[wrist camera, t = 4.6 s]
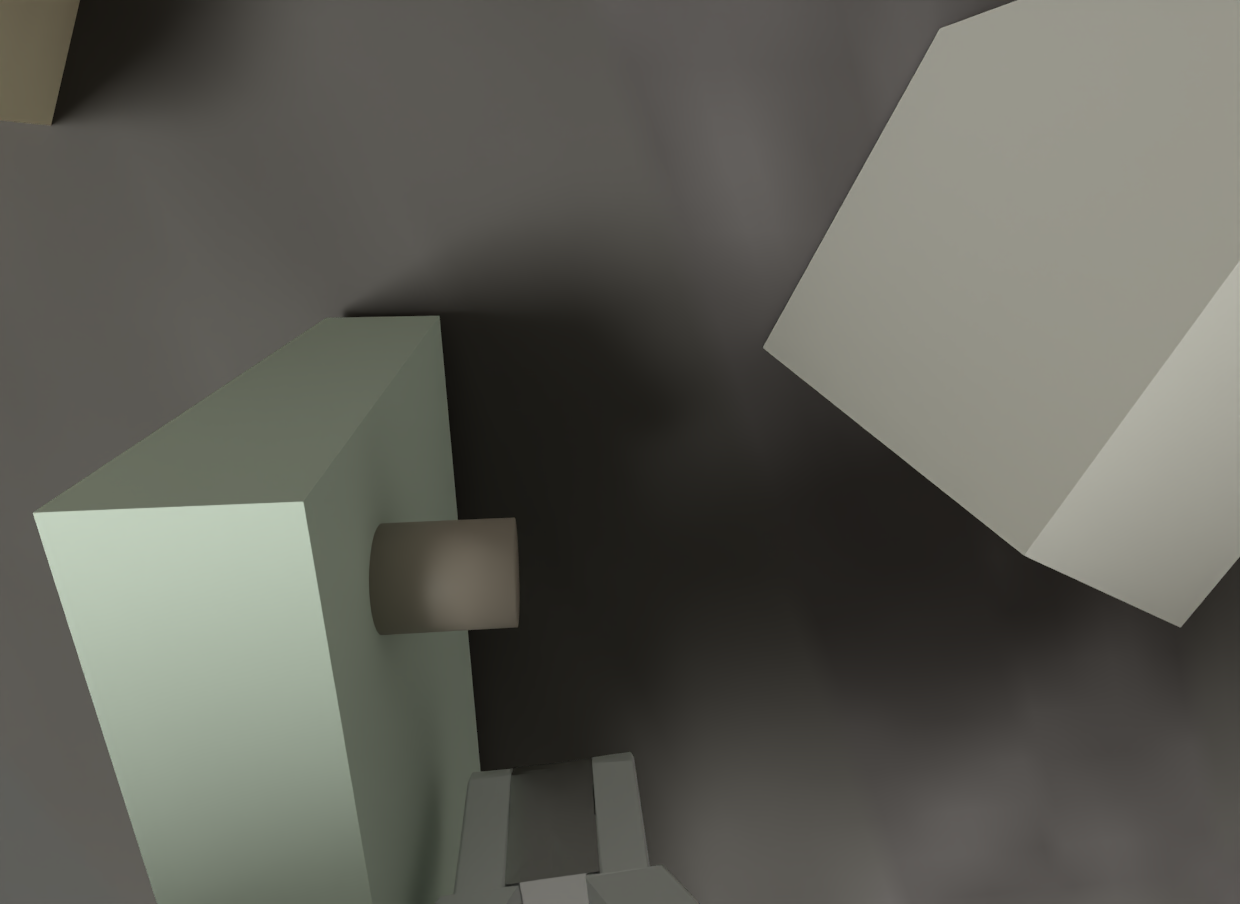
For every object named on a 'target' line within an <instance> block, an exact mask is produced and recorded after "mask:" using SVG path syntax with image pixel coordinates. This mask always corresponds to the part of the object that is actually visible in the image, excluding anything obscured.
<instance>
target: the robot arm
mask: <svg viewBox="0 0 1240 904" xmlns="http://www.w3.org/2000/svg"><path fill="white" fill-rule="evenodd" d="M435 904H700V903H699V902H698V901H697V900H696V899H695V898H694V897H693V896H692V895H691V894H690V893H689V892H688V891H687V890H686V889H685V888H684V887H683V886H682V885H681V884H680V882H679V881H678V880H677V879H676V878H675V877H674V876H673V875H672V874H671V873H670V872H669V871H668V870H667V869H666V868H665V867H664V866H663V865H658V866H650V862H649V855H648V849H647V842H646V835H645V828H644V822H643V815H642V808H641V802H640V795H639V788H638V781H637V775H636V768H635V761H634V757H633V755H632V753H631V752H625V753H618V754H611V755H604V756H598V757H592V759H591V758H585V759H578V760H571V761H564V762H557V763H549V764H539V765H530V766H520V767H514V768H512V769H502V770H492V771H482V772H472V774H471V777H470V779H469V781H468V784H467V792H466V800H465V808H464V815H463V823H462V831H461V839H460V846H459V854H458V862H457V870H456V877H455V885H454V893H453V894H452V895H446V896H440V897H439V899H438V900H437V901H436V903H435Z"/></svg>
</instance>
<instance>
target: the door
mask: <svg viewBox="0 0 1240 904" xmlns="http://www.w3.org/2000/svg"><path fill="white" fill-rule="evenodd" d="M33 515H34V518H35V521H36V524H37V528H38V531H39V534H40V537H41V540H42V543H43V546H44V550H45V553H46V556H47V559H48V562H49V565H50V568H51V572H52V575H53V578H54V581H55V584H56V587H57V591H58V594H59V597H60V600H61V603H62V606H63V609H64V613H65V616H66V619H67V622H68V625H69V628H70V631H71V635H72V638H73V641H74V644H75V647H76V650H77V653H78V657H79V660H80V663H81V666H82V669H83V672H84V675H85V679H86V682H87V685H88V688H89V691H90V694H91V697H92V701H93V704H94V707H95V710H96V713H97V716H98V719H99V723H100V726H101V729H102V732H103V735H104V738H105V741H106V745H107V748H108V751H109V754H110V757H111V760H112V763H113V767H114V770H115V773H116V776H117V779H118V782H119V785H120V789H121V792H122V795H123V798H124V801H125V804H126V807H127V811H128V814H129V817H130V820H131V823H132V826H133V829H134V833H135V836H136V839H137V842H138V845H139V848H140V852H141V855H142V858H143V861H144V864H145V867H146V870H147V874H148V877H149V880H150V883H151V886H152V889H153V892H154V896H155V899H156V902H157V904H435V903H436V901H437V900H438V899H439V897H440V896H446V895H452V894H453V893H454V885H455V877H456V870H457V862H458V854H459V846H460V839H461V831H462V823H463V815H464V808H465V800H466V792H467V784H468V781H469V779H470V777H471V774H472V772H481V771H480V760H479V749H478V737H477V726H476V715H475V704H474V693H473V682H472V671H471V660H470V649H469V638H468V630H480V629H497V628H514V627H518V625H519V604H520V590H519V555H518V538H517V526H516V520H515V517H513V518H491V519H468V520H458V515H457V504H456V493H455V482H454V471H453V460H452V449H451V438H450V427H449V416H448V404H447V393H446V382H445V371H444V360H443V349H442V338H441V327H440V316H395V317H344V318H325V319H324V320H322V321H321V322H319V323H318V324H316V325H315V326H313V327H312V328H310V329H309V330H307V331H306V332H304V333H303V334H301V335H300V336H298V337H297V338H295V339H294V340H292V341H291V342H289V343H288V344H286V345H285V346H283V347H282V348H280V349H279V350H277V351H276V352H274V353H273V354H271V355H270V356H268V357H267V358H265V359H264V360H262V361H261V362H259V363H258V364H256V365H255V366H253V367H252V368H250V369H248V370H247V371H245V372H244V373H242V374H241V375H239V376H238V377H236V378H235V379H233V380H232V381H230V382H229V383H227V384H226V385H224V386H223V387H221V388H220V389H218V390H217V391H215V392H214V393H212V394H211V395H209V396H208V397H206V398H205V399H203V400H202V401H200V402H199V403H197V404H196V405H194V406H193V407H191V408H190V409H188V410H187V411H185V412H184V413H182V414H181V415H179V416H178V417H176V418H175V419H173V420H172V421H170V422H169V423H167V424H166V425H164V426H163V427H161V428H160V429H158V430H157V431H155V432H154V433H152V434H151V435H149V436H148V437H146V438H145V439H143V440H142V441H140V442H139V443H137V444H136V445H134V446H133V447H131V448H130V449H128V450H127V451H125V452H124V453H122V454H121V455H119V456H117V457H116V458H114V459H113V460H111V461H110V462H108V463H107V464H105V465H104V466H102V467H101V468H99V469H98V470H96V471H95V472H93V473H92V474H90V475H89V476H87V477H86V478H84V479H83V480H81V481H80V482H78V483H77V484H75V485H74V486H72V487H71V488H69V489H68V490H66V491H65V492H63V493H62V494H60V495H59V496H57V497H56V498H54V499H53V500H51V501H50V502H48V503H47V504H45V505H44V506H42V507H41V508H39V509H38V510H36V511H35V512H33Z"/></svg>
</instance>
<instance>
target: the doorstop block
mask: <svg viewBox="0 0 1240 904" xmlns="http://www.w3.org/2000/svg"><path fill="white" fill-rule="evenodd" d="M79 2H80V0H0V120H1V121H11V122H21V123H31V124H41V125H51V124H52V119H53V115H54V111H55V106H56V102H57V98H58V93H59V89H60V85H61V80H62V76H63V72H64V67H65V63H66V59H67V54H68V50H69V46H70V41H71V37H72V33H73V28H74V24H75V20H76V15H77V11H78V7H79Z"/></svg>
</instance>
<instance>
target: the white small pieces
mask: <svg viewBox="0 0 1240 904" xmlns="http://www.w3.org/2000/svg"><path fill="white" fill-rule="evenodd" d="M763 348H764V349H765V350H766V351H767V352H769V353H770V354H771V355H772V356H774V357H775V358H776V359H777V360H779V361H780V362H781V363H782V364H784V365H785V366H786V367H787V368H789V369H790V370H791V371H792V372H794V373H795V374H796V375H797V376H799V377H800V378H801V379H803V380H804V381H805V382H806V383H808V384H809V385H810V386H811V387H813V388H814V389H815V390H816V391H818V392H819V393H820V394H821V395H823V396H824V397H825V398H826V399H828V400H829V401H830V402H831V403H833V404H834V405H835V406H836V407H838V408H839V409H840V410H842V411H843V412H844V413H845V414H847V415H848V416H849V417H850V418H852V419H853V420H854V421H855V422H857V423H858V424H859V425H860V426H862V427H863V428H864V429H865V430H867V431H868V432H869V433H870V434H872V435H873V436H874V437H875V438H877V439H878V440H879V441H880V442H882V443H883V444H884V445H886V446H887V447H888V448H889V449H891V450H892V451H893V452H894V453H896V454H897V455H898V456H899V457H901V458H902V459H903V460H904V461H906V462H907V463H908V464H909V465H911V466H912V467H913V468H914V469H916V470H917V471H918V472H919V473H921V474H922V475H923V476H925V477H926V478H927V479H928V480H930V481H931V482H932V483H933V484H935V485H936V486H937V487H938V488H940V489H941V490H942V491H943V492H945V493H946V494H947V495H948V496H950V497H951V498H952V499H953V500H955V501H956V502H957V503H958V504H960V505H961V506H962V507H963V508H965V509H966V510H967V511H969V512H970V513H971V514H972V515H974V516H975V517H976V518H977V519H979V520H980V521H981V522H982V523H984V524H985V525H986V526H987V527H989V528H990V529H991V530H992V531H994V532H995V533H996V534H997V535H999V536H1000V537H1001V538H1002V539H1004V540H1005V541H1006V542H1008V543H1009V544H1010V545H1011V546H1013V547H1014V548H1015V549H1016V550H1018V551H1019V552H1020V553H1021V554H1023V555H1024V556H1026V557H1028V558H1030V559H1032V560H1035V561H1037V562H1039V563H1041V564H1043V565H1045V566H1048V567H1050V568H1052V569H1054V570H1056V571H1059V572H1061V573H1063V574H1065V575H1067V576H1069V577H1072V578H1074V579H1076V580H1078V581H1080V582H1082V583H1085V584H1087V585H1089V586H1091V587H1093V588H1095V589H1098V590H1100V591H1102V592H1104V593H1106V594H1108V595H1111V596H1113V597H1115V598H1117V599H1119V600H1122V601H1124V602H1126V603H1128V604H1130V605H1132V606H1135V607H1137V608H1139V609H1141V610H1143V611H1145V612H1148V613H1150V614H1152V615H1154V616H1156V617H1158V618H1161V619H1163V620H1165V621H1167V622H1169V623H1172V624H1174V625H1176V626H1178V627H1180V628H1181V627H1182V625H1183V624H1184V623H1185V622H1186V621H1187V619H1188V618H1189V617H1190V616H1191V615H1192V613H1193V612H1194V611H1195V610H1196V609H1197V607H1198V606H1199V605H1200V604H1201V603H1202V601H1203V600H1204V599H1205V598H1206V597H1207V595H1208V594H1209V593H1210V592H1211V591H1212V589H1213V588H1214V587H1215V586H1216V585H1217V583H1218V582H1219V581H1220V580H1221V579H1222V577H1223V576H1224V575H1225V574H1226V573H1227V571H1228V570H1229V569H1230V568H1231V567H1232V565H1233V564H1234V563H1235V562H1236V561H1237V559H1238V558H1239V557H1240V0H1017V1H1014V2H1011V3H1008V4H1006V5H1003V6H1000V7H997V8H995V9H992V10H989V11H986V12H984V13H981V14H978V15H976V16H973V17H970V18H967V19H965V20H962V21H959V22H956V23H954V24H951V25H948V26H945V27H943V28H940V29H939V31H938V33H937V35H936V36H935V38H934V40H933V42H932V44H931V45H930V47H929V49H928V51H927V53H926V54H925V56H924V58H923V60H922V62H921V63H920V65H919V67H918V69H917V71H916V72H915V74H914V76H913V78H912V80H911V81H910V83H909V85H908V87H907V89H906V90H905V92H904V94H903V96H902V98H901V99H900V101H899V103H898V105H897V107H896V108H895V110H894V112H893V114H892V116H891V117H890V119H889V121H888V123H887V125H886V126H885V128H884V130H883V132H882V134H881V135H880V137H879V139H878V141H877V143H876V144H875V146H874V148H873V150H872V152H871V153H870V155H869V157H868V159H867V161H866V162H865V164H864V166H863V168H862V170H861V171H860V173H859V175H858V177H857V179H856V180H855V182H854V184H853V186H852V188H851V189H850V191H849V193H848V195H847V197H846V198H845V200H844V202H843V204H842V206H841V207H840V209H839V211H838V213H837V215H836V217H835V218H834V220H833V222H832V224H831V226H830V227H829V229H828V231H827V233H826V235H825V236H824V238H823V240H822V242H821V244H820V245H819V247H818V249H817V251H816V253H815V254H814V256H813V258H812V260H811V262H810V263H809V265H808V267H807V269H806V271H805V272H804V274H803V276H802V278H801V280H800V281H799V283H798V285H797V287H796V289H795V290H794V292H793V294H792V296H791V298H790V299H789V301H788V303H787V305H786V307H785V308H784V310H783V312H782V314H781V316H780V317H779V319H778V321H777V323H776V325H775V326H774V328H773V330H772V332H771V334H770V335H769V337H768V339H767V341H766V343H765V344H764V346H763Z"/></svg>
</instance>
